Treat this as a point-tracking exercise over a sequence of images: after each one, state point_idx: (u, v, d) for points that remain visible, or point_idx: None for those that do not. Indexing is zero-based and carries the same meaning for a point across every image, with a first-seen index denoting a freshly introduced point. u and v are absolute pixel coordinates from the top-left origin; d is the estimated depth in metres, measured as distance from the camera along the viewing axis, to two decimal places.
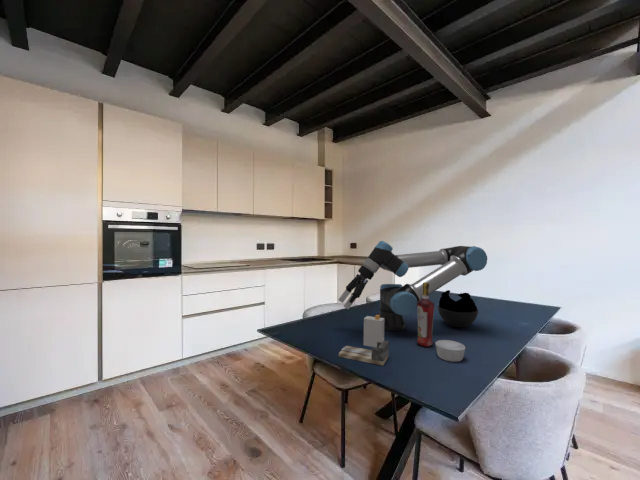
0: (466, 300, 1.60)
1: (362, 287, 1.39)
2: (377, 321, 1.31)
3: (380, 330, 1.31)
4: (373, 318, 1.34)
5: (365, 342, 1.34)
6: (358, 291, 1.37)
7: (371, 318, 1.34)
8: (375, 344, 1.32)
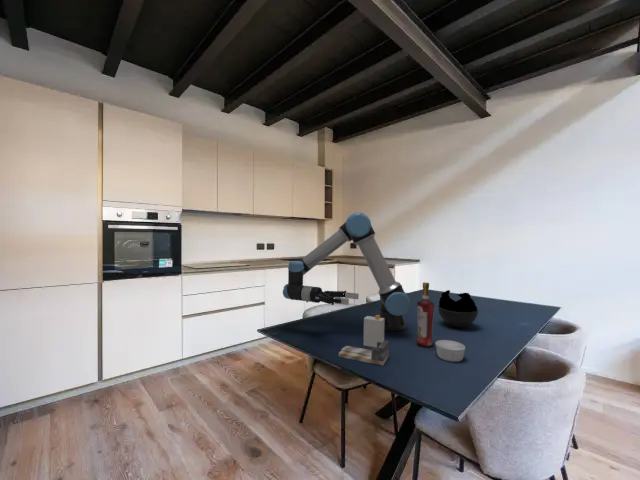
0: (466, 300, 1.60)
1: (322, 298, 1.37)
2: (377, 321, 1.31)
3: (380, 330, 1.31)
4: (373, 318, 1.34)
5: (365, 342, 1.34)
6: (326, 301, 1.34)
7: (371, 318, 1.34)
8: (375, 344, 1.32)
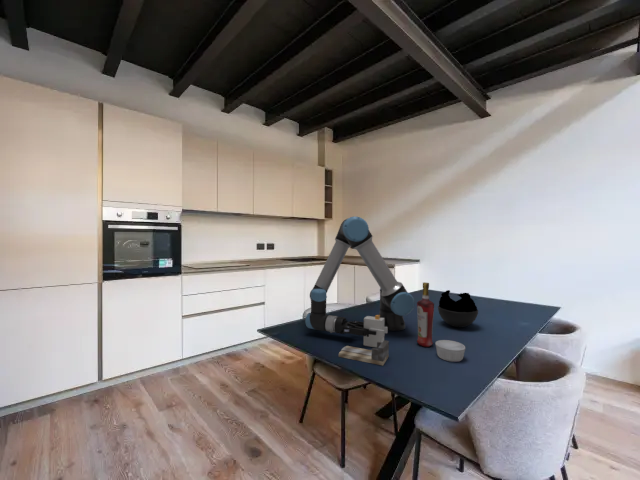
0: (466, 300, 1.60)
1: (354, 330, 1.32)
2: (377, 321, 1.31)
3: None
4: (373, 318, 1.34)
5: (365, 342, 1.34)
6: (360, 333, 1.31)
7: (371, 318, 1.34)
8: (375, 344, 1.32)
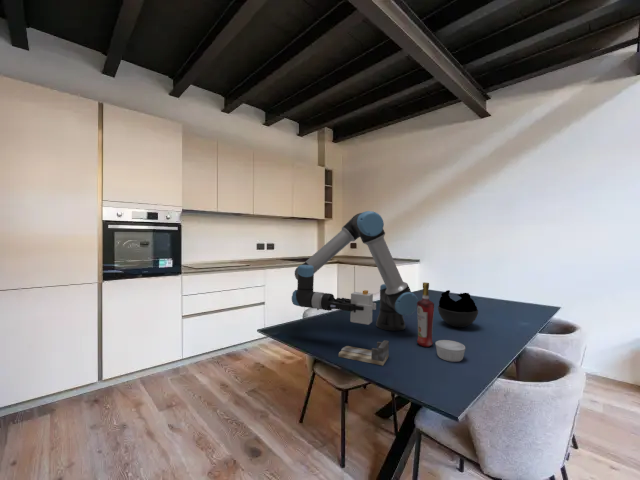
0: (466, 300, 1.60)
1: (340, 305, 1.26)
2: (364, 296, 1.25)
3: None
4: (361, 293, 1.28)
5: (352, 318, 1.28)
6: (347, 308, 1.25)
7: (359, 293, 1.28)
8: (362, 320, 1.26)
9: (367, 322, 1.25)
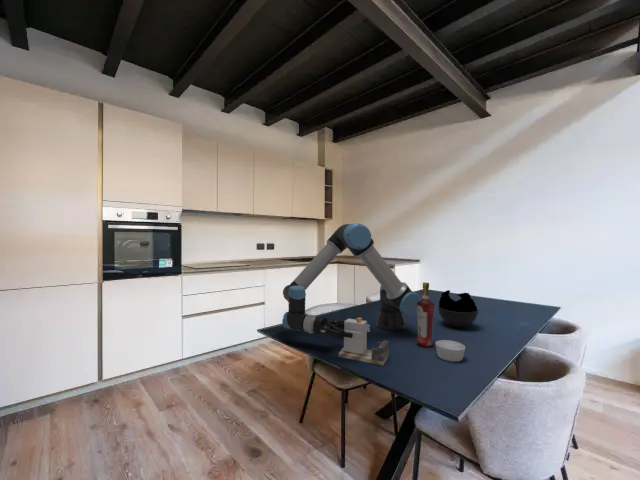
0: (466, 300, 1.60)
1: (329, 331, 1.19)
2: (358, 324, 1.19)
3: (362, 334, 1.19)
4: (354, 321, 1.22)
5: (345, 347, 1.22)
6: (335, 335, 1.17)
7: (352, 321, 1.22)
8: (356, 350, 1.20)
9: (361, 352, 1.19)
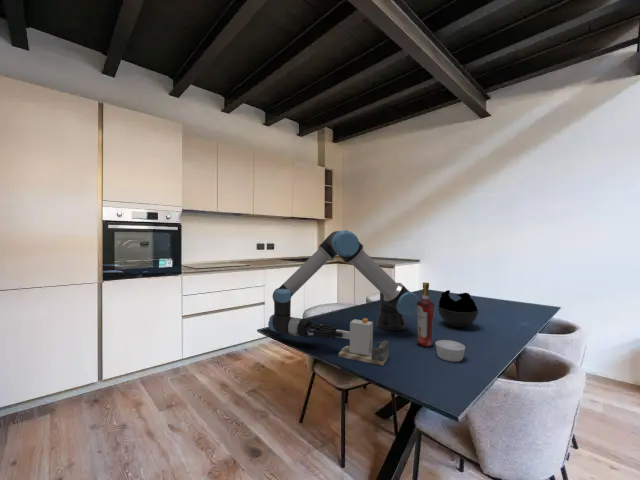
0: (466, 300, 1.60)
1: (319, 333, 1.24)
2: (364, 325, 1.18)
3: (368, 335, 1.18)
4: (360, 322, 1.21)
5: (351, 348, 1.21)
6: (326, 335, 1.23)
7: (358, 322, 1.21)
8: (362, 351, 1.19)
9: (367, 353, 1.18)
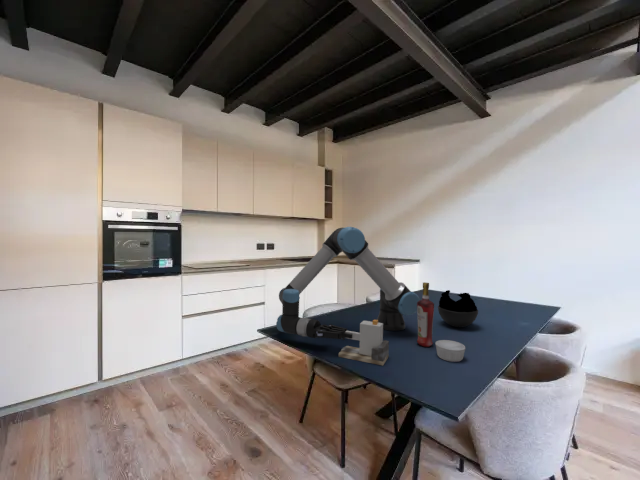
0: (466, 300, 1.60)
1: (328, 334, 1.22)
2: (375, 327, 1.16)
3: (378, 337, 1.16)
4: (370, 323, 1.19)
5: (361, 350, 1.19)
6: (335, 336, 1.22)
7: (368, 323, 1.19)
8: None
9: None
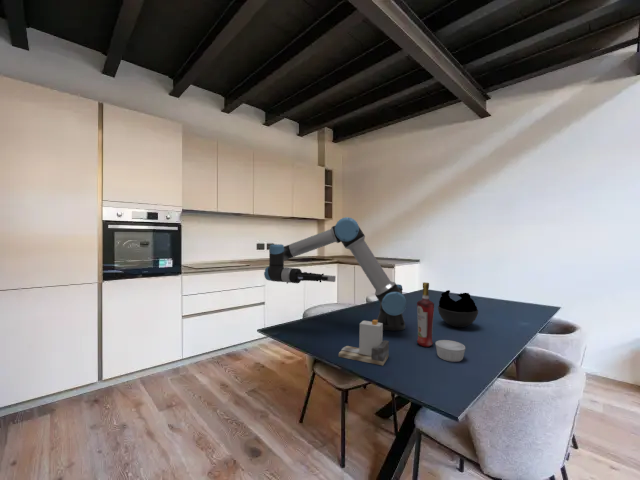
0: (466, 300, 1.60)
1: (307, 277, 1.45)
2: (374, 327, 1.17)
3: (378, 337, 1.16)
4: (370, 323, 1.20)
5: (361, 350, 1.19)
6: (313, 279, 1.44)
7: (368, 323, 1.20)
8: None
9: None
